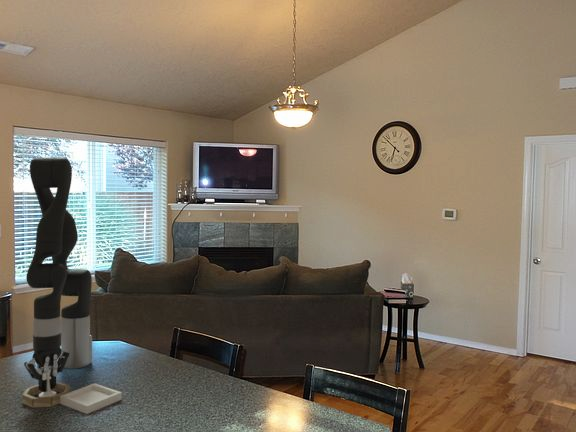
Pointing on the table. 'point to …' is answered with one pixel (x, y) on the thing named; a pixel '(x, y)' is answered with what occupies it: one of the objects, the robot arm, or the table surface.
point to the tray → (90, 398)
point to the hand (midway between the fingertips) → (47, 389)
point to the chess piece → (48, 386)
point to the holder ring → (44, 401)
